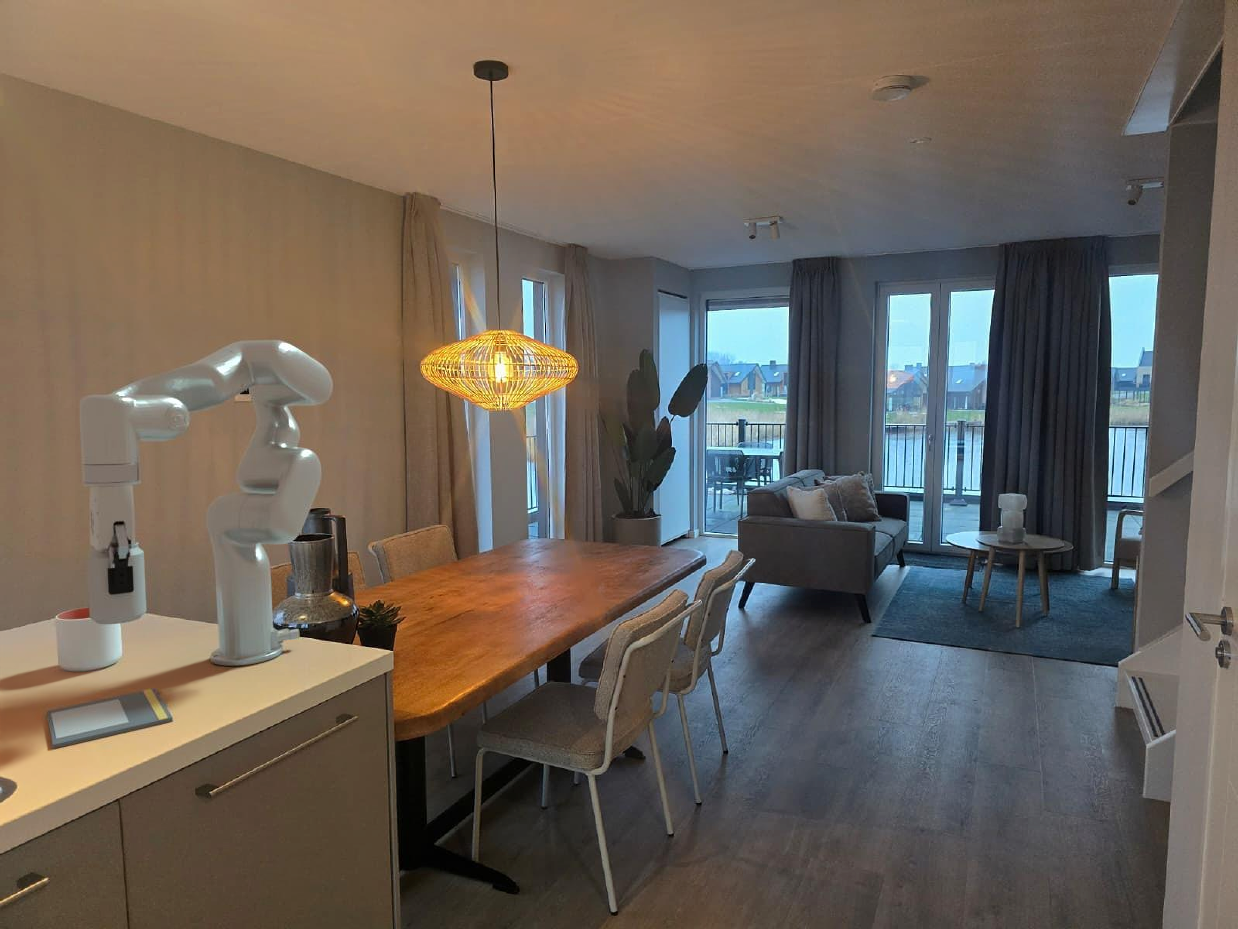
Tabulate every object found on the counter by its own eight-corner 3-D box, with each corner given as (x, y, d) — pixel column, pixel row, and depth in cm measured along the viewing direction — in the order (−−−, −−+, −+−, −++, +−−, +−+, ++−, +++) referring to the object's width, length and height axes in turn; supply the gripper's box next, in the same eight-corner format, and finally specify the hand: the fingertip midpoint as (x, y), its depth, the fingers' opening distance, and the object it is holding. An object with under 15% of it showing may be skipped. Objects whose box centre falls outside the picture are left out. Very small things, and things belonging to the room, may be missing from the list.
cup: (49, 676, 142) (45, 622, 141) (70, 659, 152) (67, 608, 151) (112, 670, 145) (109, 617, 144) (129, 654, 154) (126, 603, 154)
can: (156, 617, 124) (153, 541, 123) (106, 628, 118) (103, 548, 117) (129, 611, 128) (126, 538, 127) (79, 622, 121) (75, 544, 121)
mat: (155, 691, 134) (155, 687, 134) (172, 721, 122) (172, 716, 121) (46, 714, 125) (46, 710, 125) (53, 748, 112) (52, 744, 112)
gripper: (75, 473, 126) (80, 583, 127) (90, 480, 112) (96, 602, 113) (130, 471, 130) (134, 577, 131) (150, 477, 117) (155, 594, 118)
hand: (116, 588), depth 122 cm, fingers closed on can, 7 cm apart
